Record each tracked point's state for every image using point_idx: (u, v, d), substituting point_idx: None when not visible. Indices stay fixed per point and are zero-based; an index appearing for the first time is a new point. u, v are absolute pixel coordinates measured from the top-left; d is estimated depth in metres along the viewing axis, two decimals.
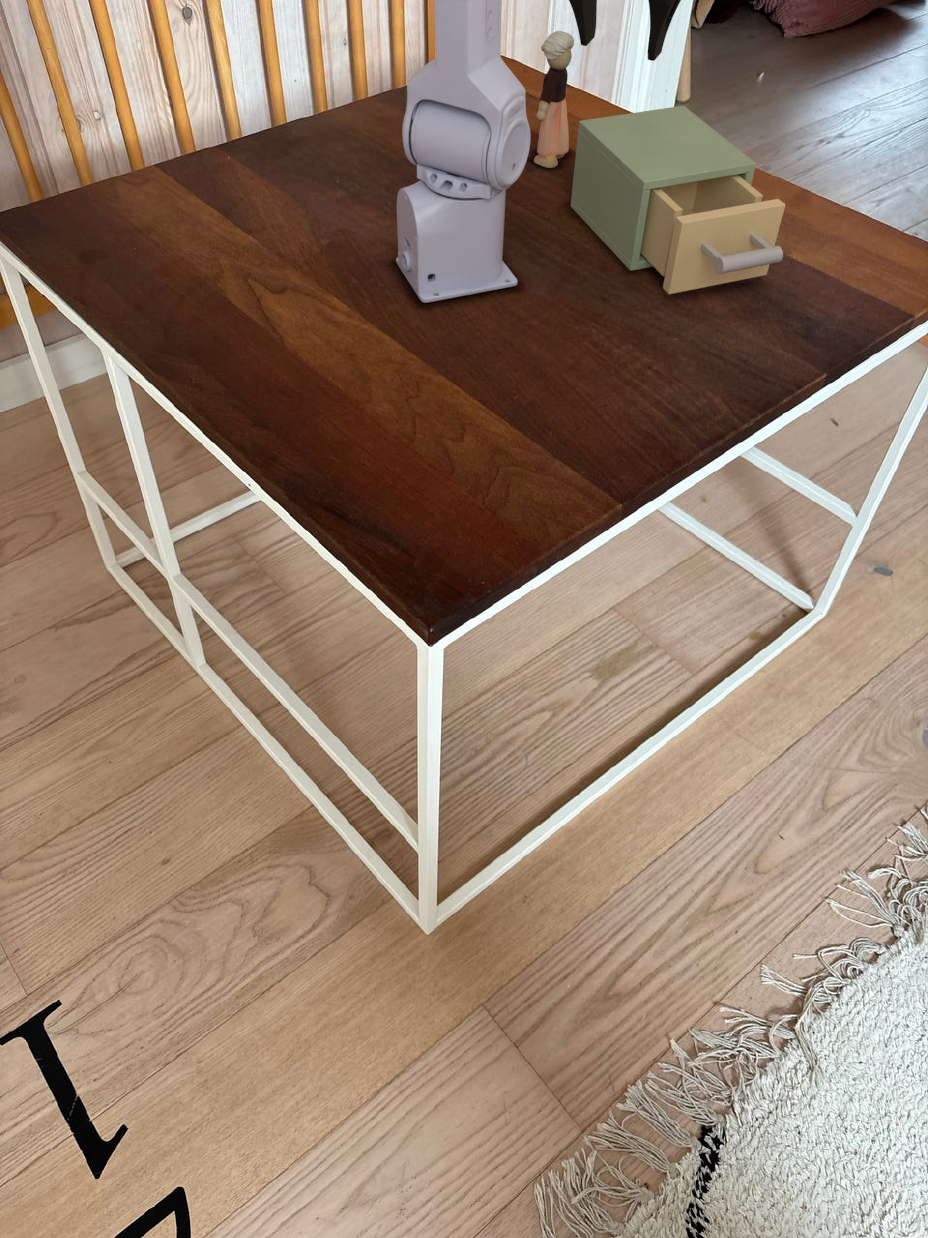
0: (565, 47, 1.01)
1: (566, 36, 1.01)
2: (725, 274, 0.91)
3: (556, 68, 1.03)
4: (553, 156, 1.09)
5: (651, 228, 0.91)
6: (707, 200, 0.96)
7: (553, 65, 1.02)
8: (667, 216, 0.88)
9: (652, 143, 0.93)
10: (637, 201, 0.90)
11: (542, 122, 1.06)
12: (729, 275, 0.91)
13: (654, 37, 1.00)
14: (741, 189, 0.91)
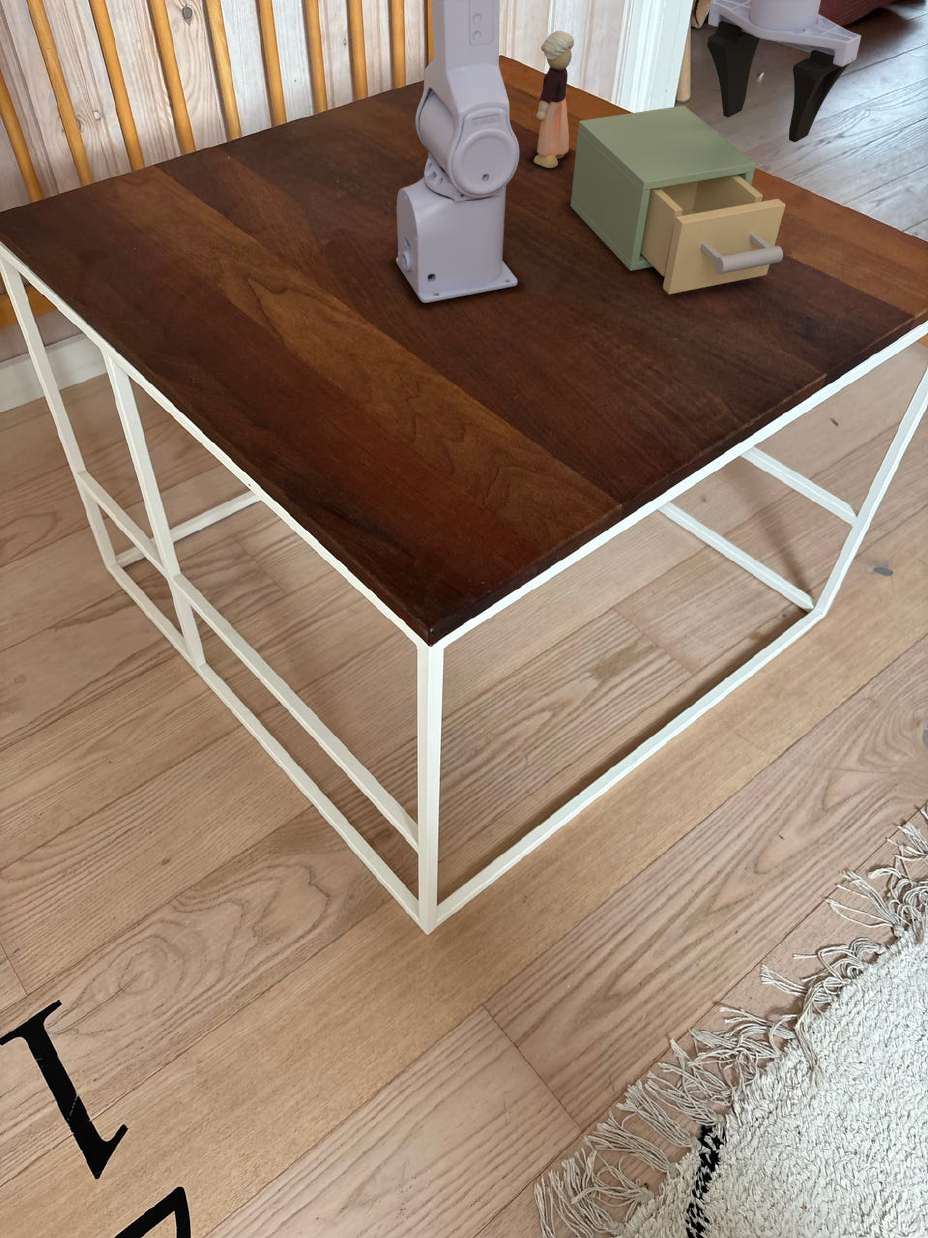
0: (565, 47, 1.01)
1: (566, 36, 1.01)
2: (725, 274, 0.91)
3: (556, 68, 1.03)
4: (553, 156, 1.09)
5: (651, 228, 0.91)
6: (707, 200, 0.96)
7: (553, 65, 1.02)
8: (667, 216, 0.88)
9: (652, 143, 0.93)
10: (637, 201, 0.90)
11: (542, 122, 1.06)
12: (729, 275, 0.91)
13: (797, 115, 0.89)
14: (741, 189, 0.91)
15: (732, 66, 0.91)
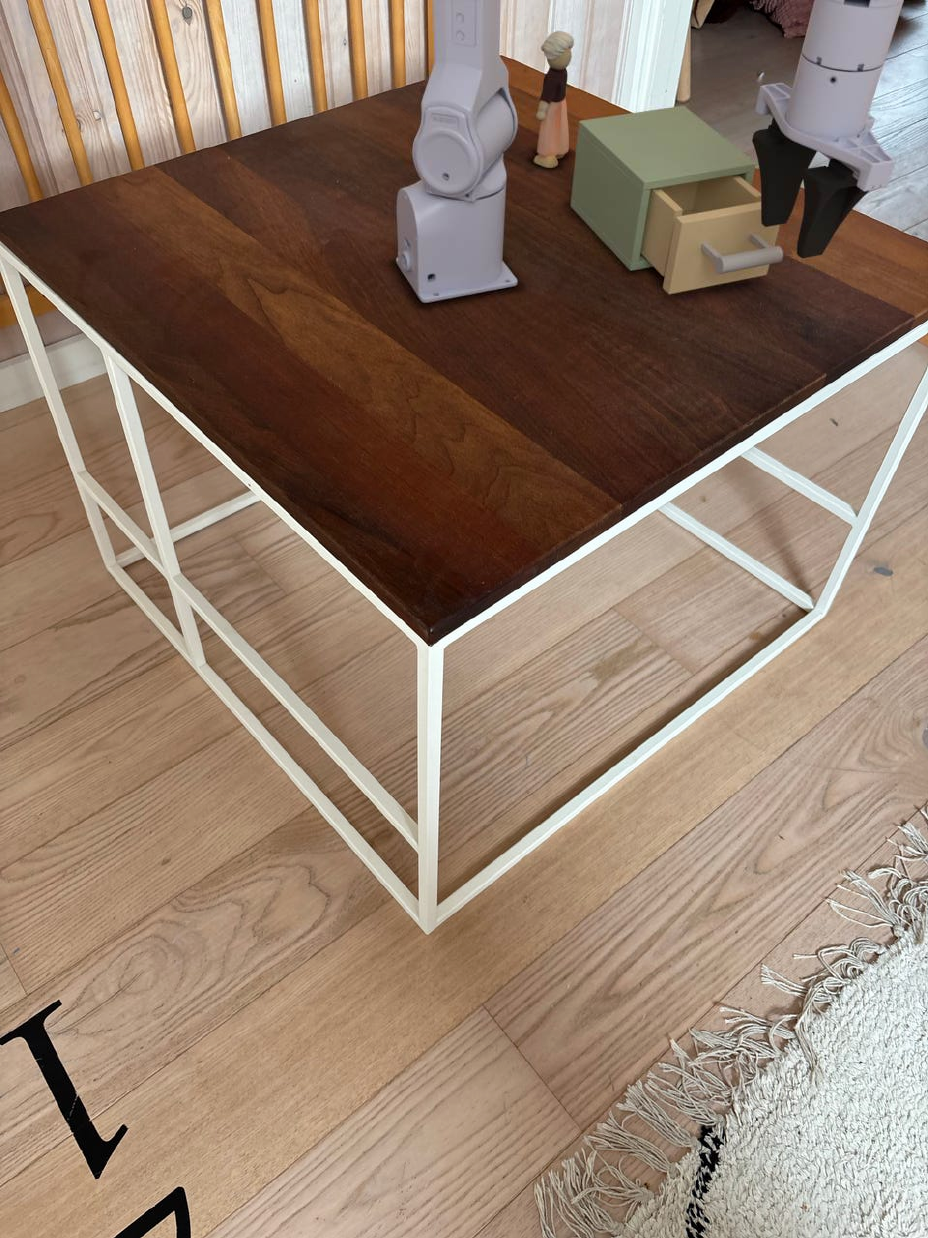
0: (565, 47, 1.01)
1: (566, 36, 1.01)
2: (725, 274, 0.91)
3: (556, 68, 1.03)
4: (553, 156, 1.09)
5: (651, 228, 0.91)
6: (707, 200, 0.96)
7: (553, 65, 1.02)
8: (667, 216, 0.88)
9: (652, 143, 0.93)
10: (637, 201, 0.90)
11: (542, 122, 1.06)
12: (729, 275, 0.91)
13: (805, 228, 0.76)
14: (741, 189, 0.91)
15: (776, 170, 0.78)
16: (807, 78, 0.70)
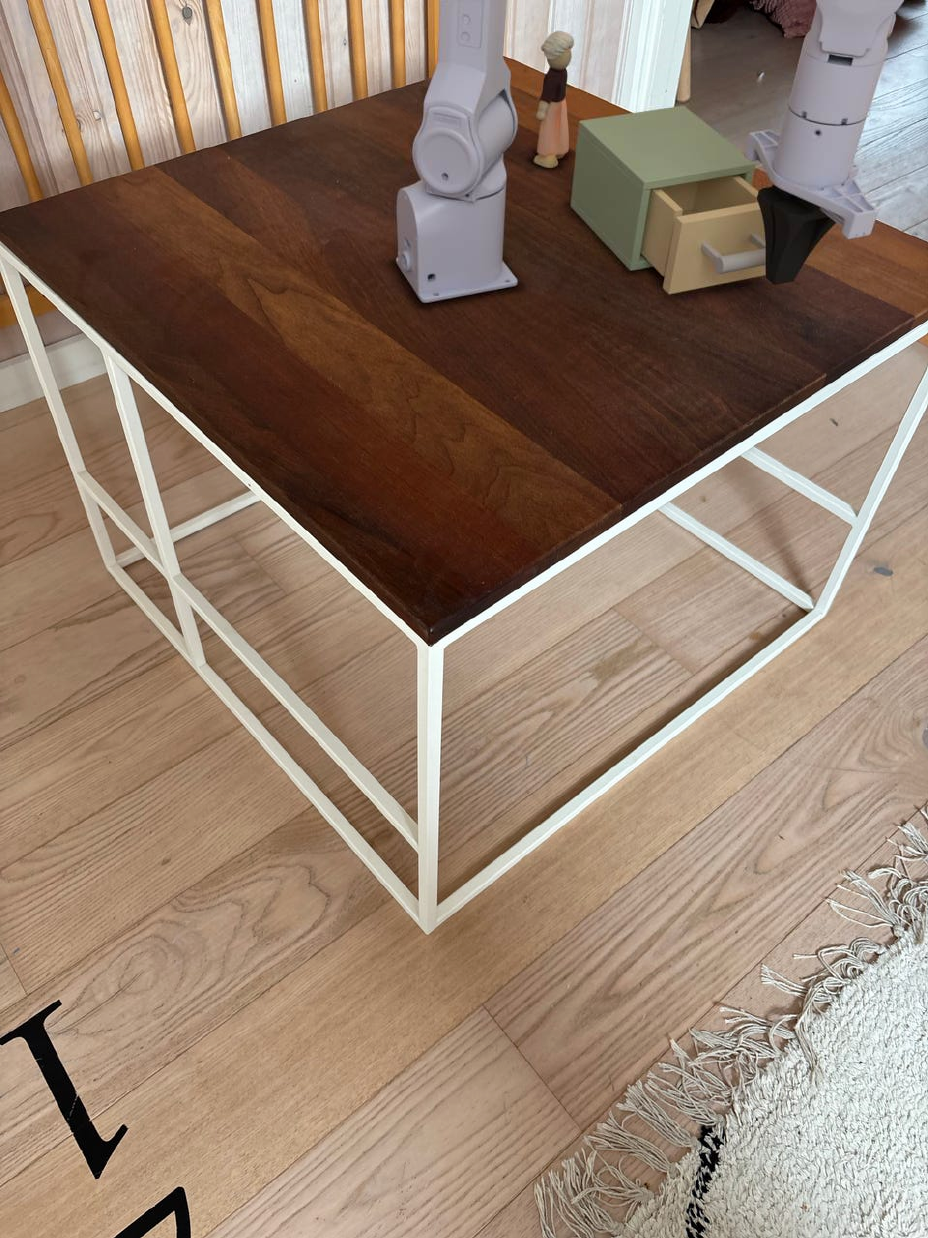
0: (565, 47, 1.01)
1: (566, 36, 1.01)
2: (725, 274, 0.91)
3: (556, 68, 1.03)
4: (553, 156, 1.09)
5: (651, 228, 0.91)
6: (707, 200, 0.96)
7: (553, 65, 1.02)
8: (667, 216, 0.88)
9: (652, 143, 0.93)
10: (637, 201, 0.90)
11: (542, 122, 1.06)
12: (729, 275, 0.91)
13: (776, 257, 0.80)
14: (741, 189, 0.91)
15: None
16: (793, 130, 0.73)
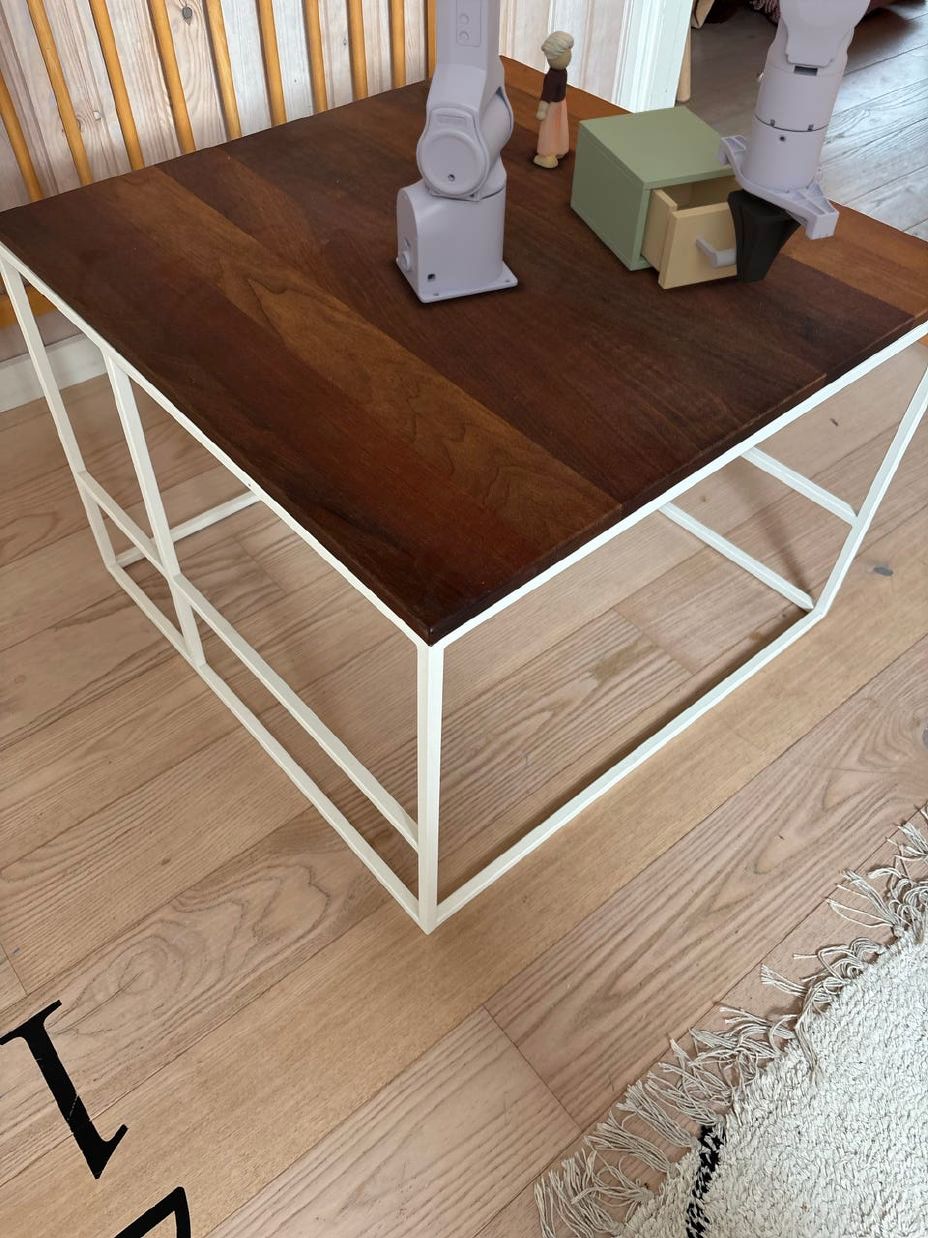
0: (565, 47, 1.01)
1: (566, 36, 1.01)
2: (720, 269, 0.92)
3: (556, 68, 1.03)
4: (553, 156, 1.09)
5: (646, 223, 0.92)
6: (702, 196, 0.97)
7: (553, 65, 1.02)
8: (662, 211, 0.89)
9: (652, 143, 0.93)
10: (637, 201, 0.90)
11: (542, 122, 1.06)
12: (724, 270, 0.92)
13: (746, 256, 0.84)
14: (736, 184, 0.91)
15: None
16: (759, 136, 0.76)
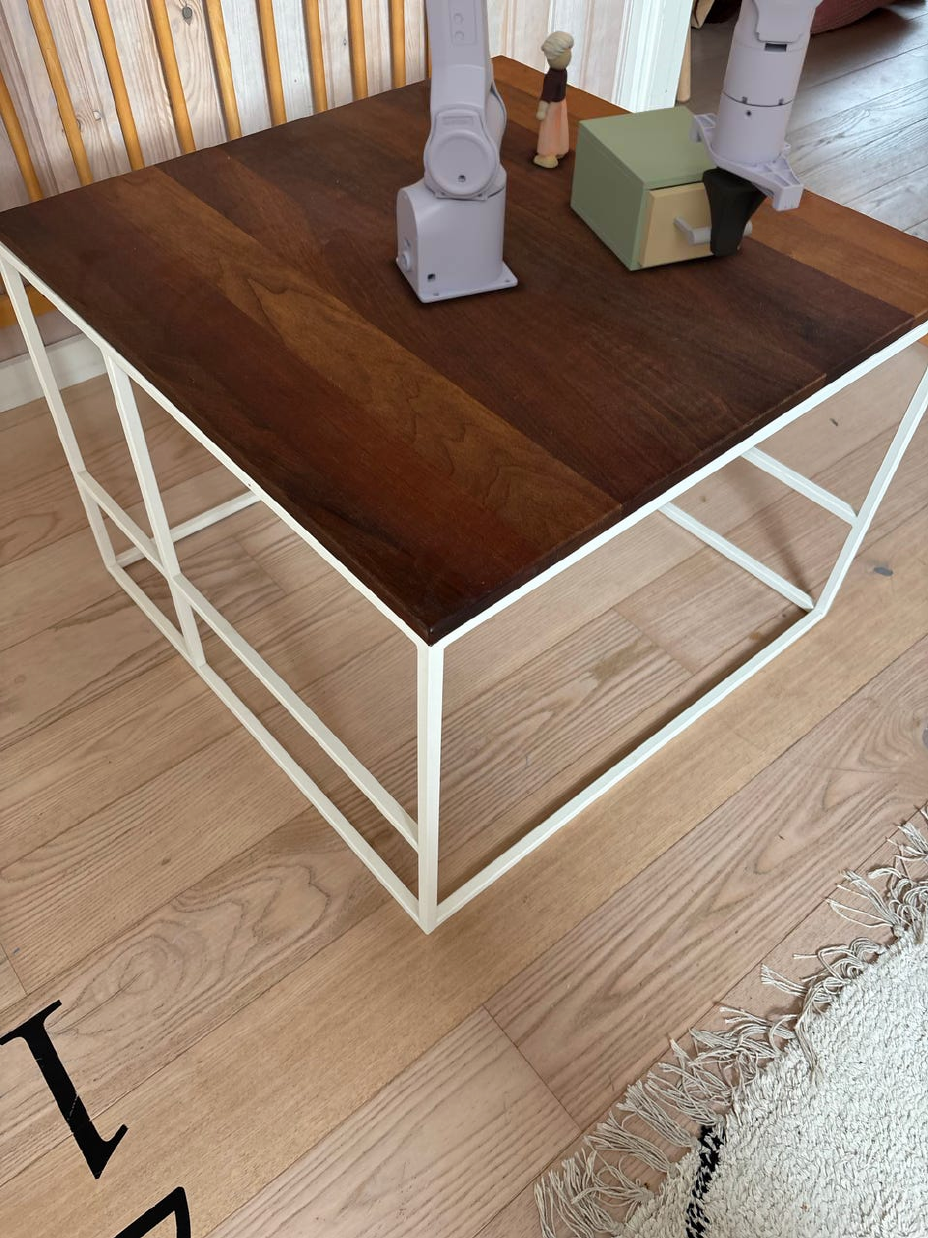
0: (565, 47, 1.01)
1: (566, 36, 1.01)
2: (698, 248, 0.94)
3: (556, 68, 1.03)
4: (553, 156, 1.09)
5: None
6: None
7: (553, 65, 1.02)
8: None
9: (652, 143, 0.93)
10: (637, 201, 0.90)
11: (542, 122, 1.06)
12: (702, 249, 0.94)
13: (714, 228, 0.87)
14: None
15: None
16: (727, 111, 0.79)
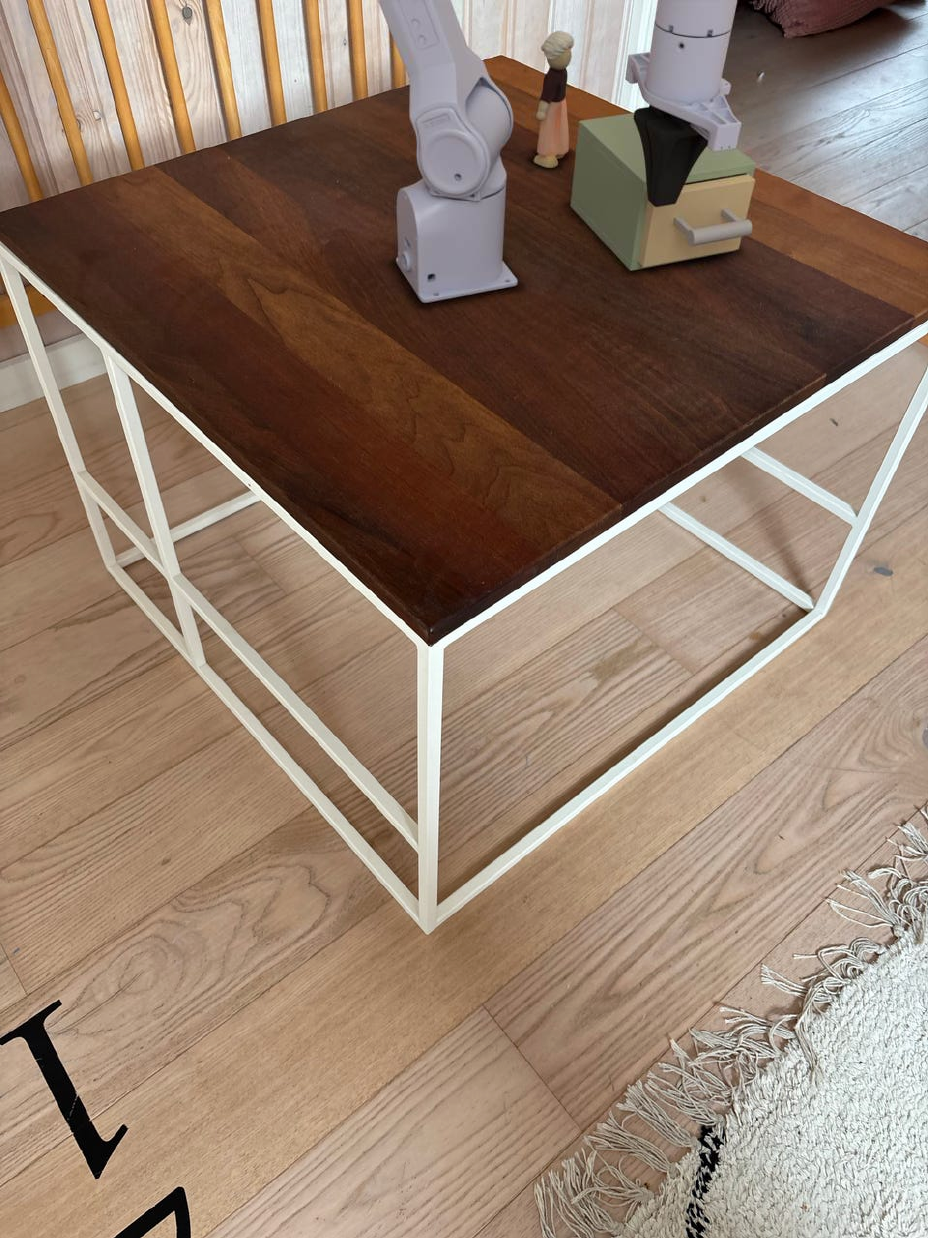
0: (565, 47, 1.01)
1: (566, 36, 1.01)
2: (698, 248, 0.94)
3: (556, 68, 1.03)
4: (553, 156, 1.09)
5: None
6: None
7: (553, 65, 1.02)
8: None
9: None
10: (637, 201, 0.90)
11: (542, 122, 1.06)
12: (702, 249, 0.94)
13: (654, 177, 0.81)
14: None
15: None
16: (659, 44, 0.74)
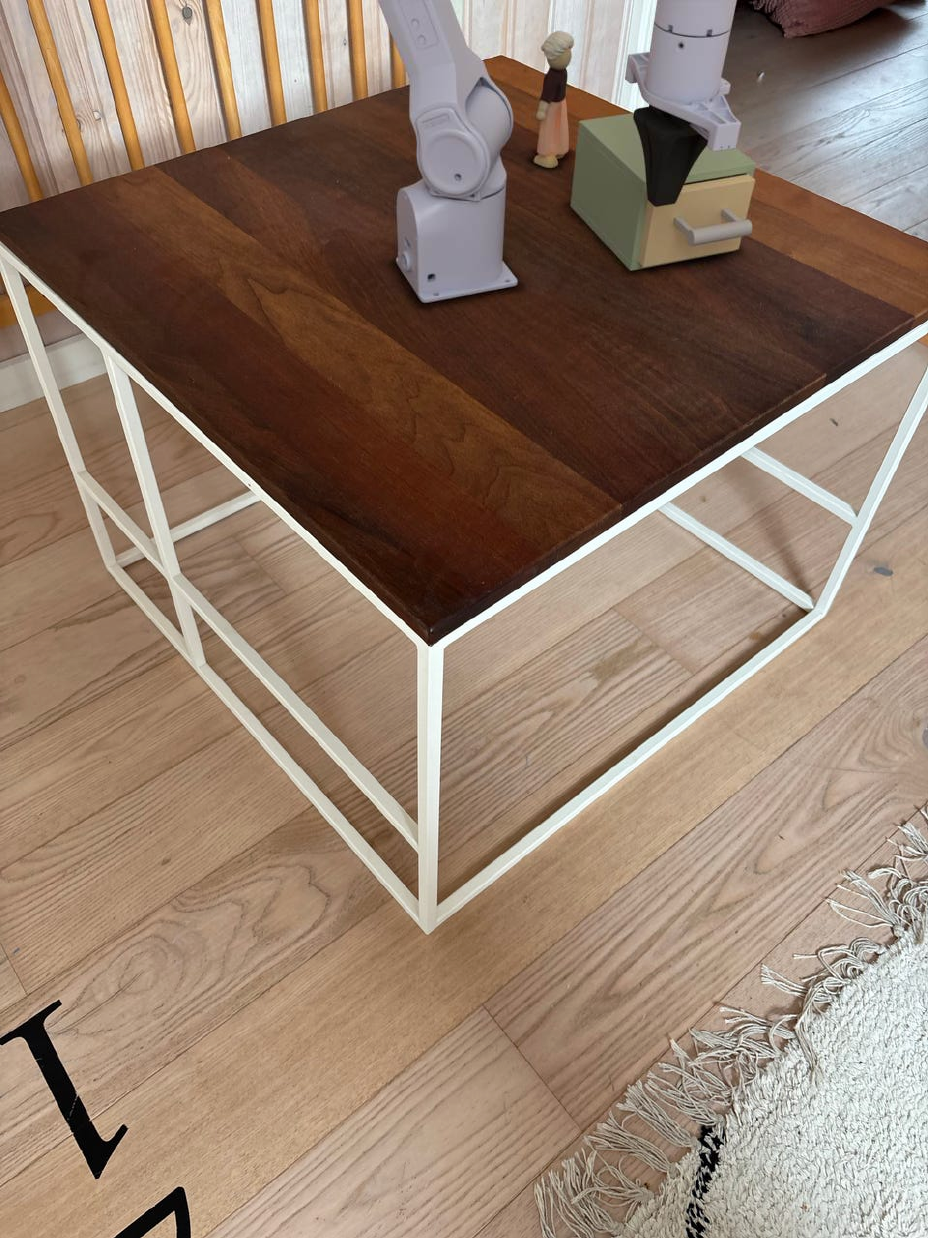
0: (565, 47, 1.01)
1: (566, 36, 1.01)
2: (698, 248, 0.94)
3: (556, 68, 1.03)
4: (553, 156, 1.09)
5: None
6: None
7: (553, 65, 1.02)
8: None
9: None
10: (637, 201, 0.90)
11: (542, 122, 1.06)
12: (702, 249, 0.94)
13: (654, 177, 0.81)
14: None
15: None
16: (659, 44, 0.74)
